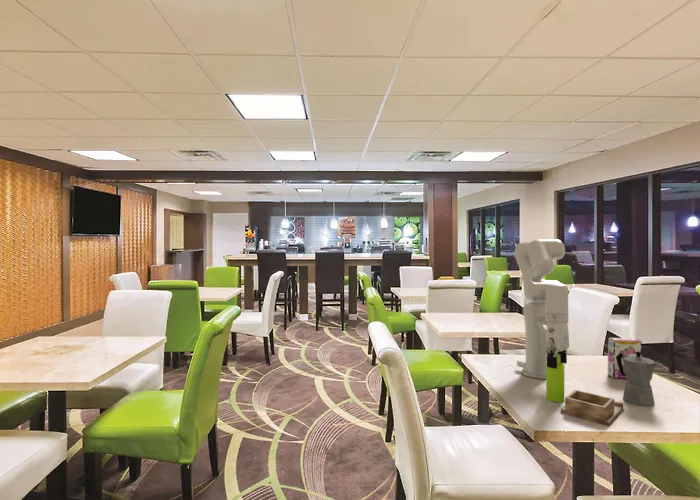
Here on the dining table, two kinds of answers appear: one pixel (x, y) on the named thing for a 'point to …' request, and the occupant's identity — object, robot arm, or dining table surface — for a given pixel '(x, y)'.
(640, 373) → the coffeepot
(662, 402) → the dining table surface
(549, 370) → the soap dispenser
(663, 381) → the dining table surface
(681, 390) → the dining table surface
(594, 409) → the wooden tray
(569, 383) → the dining table surface
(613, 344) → the candy bar box
